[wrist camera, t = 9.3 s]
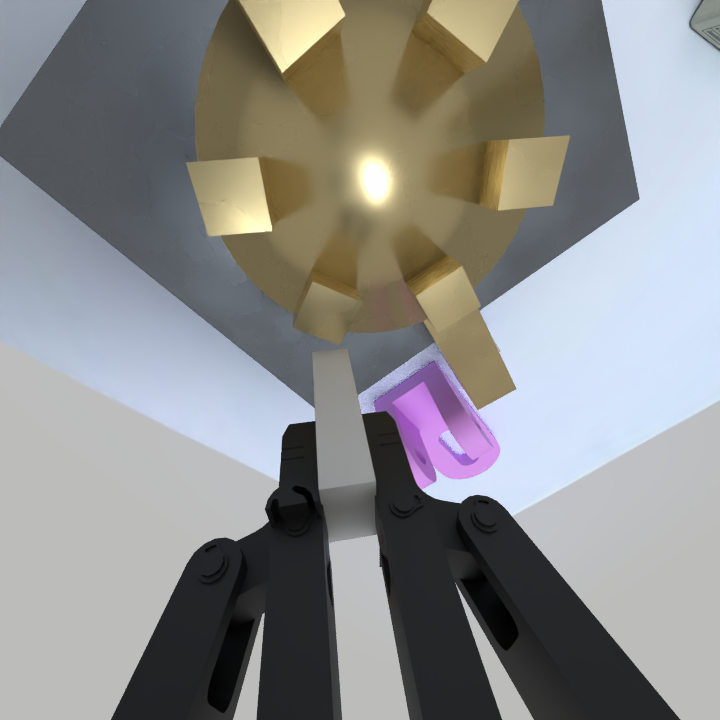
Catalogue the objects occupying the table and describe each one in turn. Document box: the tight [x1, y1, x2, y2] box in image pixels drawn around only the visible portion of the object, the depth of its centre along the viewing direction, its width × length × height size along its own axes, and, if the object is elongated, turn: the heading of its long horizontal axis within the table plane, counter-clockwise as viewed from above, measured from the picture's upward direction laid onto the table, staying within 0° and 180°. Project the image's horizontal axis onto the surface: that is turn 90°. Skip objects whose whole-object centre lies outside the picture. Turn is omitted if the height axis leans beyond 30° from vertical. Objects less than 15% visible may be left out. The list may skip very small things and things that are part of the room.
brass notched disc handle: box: [186, 0, 570, 410], centre depth 14 cm, size 19×12×4 cm, turn 33°
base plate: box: [0, 0, 639, 408], centre depth 16 cm, size 22×21×2 cm
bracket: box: [374, 361, 500, 490], centre depth 24 cm, size 13×6×7 cm, turn 37°
